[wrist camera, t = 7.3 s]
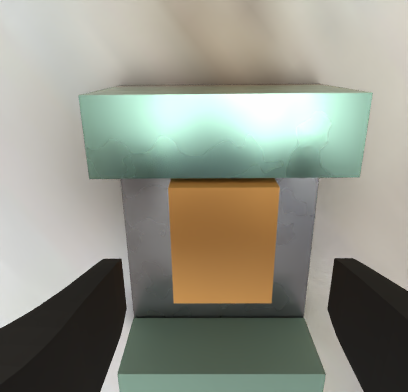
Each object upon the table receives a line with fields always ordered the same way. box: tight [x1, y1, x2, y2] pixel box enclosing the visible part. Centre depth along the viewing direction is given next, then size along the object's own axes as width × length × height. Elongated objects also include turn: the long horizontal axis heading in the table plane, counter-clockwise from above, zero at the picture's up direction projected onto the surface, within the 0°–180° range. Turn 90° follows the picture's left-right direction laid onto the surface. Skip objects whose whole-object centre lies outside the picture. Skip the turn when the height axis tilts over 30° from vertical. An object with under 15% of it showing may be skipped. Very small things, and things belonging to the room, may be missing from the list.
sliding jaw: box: [118, 318, 326, 392], centre depth 20 cm, size 10×7×4 cm
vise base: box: [79, 84, 373, 318], centre depth 18 cm, size 10×20×6 cm, turn 1°
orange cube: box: [168, 178, 280, 303], centre depth 16 cm, size 4×5×5 cm
